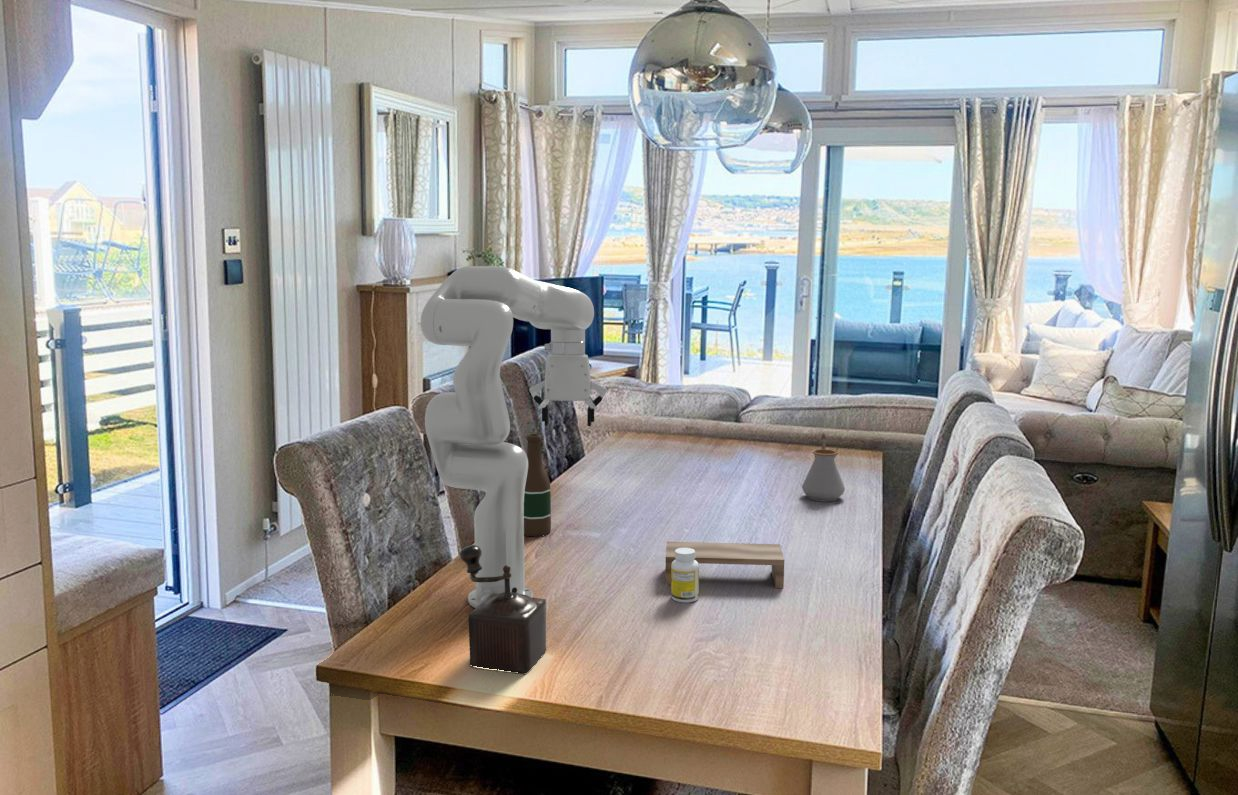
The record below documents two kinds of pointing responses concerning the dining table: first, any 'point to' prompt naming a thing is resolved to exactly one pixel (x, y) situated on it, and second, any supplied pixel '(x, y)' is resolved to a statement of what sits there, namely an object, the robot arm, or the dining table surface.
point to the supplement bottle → (685, 576)
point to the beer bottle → (536, 491)
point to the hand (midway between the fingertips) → (568, 424)
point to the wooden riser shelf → (731, 556)
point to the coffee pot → (823, 476)
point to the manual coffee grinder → (504, 623)
